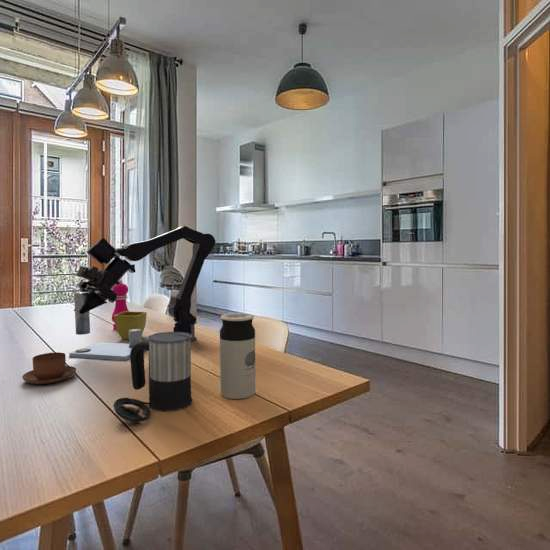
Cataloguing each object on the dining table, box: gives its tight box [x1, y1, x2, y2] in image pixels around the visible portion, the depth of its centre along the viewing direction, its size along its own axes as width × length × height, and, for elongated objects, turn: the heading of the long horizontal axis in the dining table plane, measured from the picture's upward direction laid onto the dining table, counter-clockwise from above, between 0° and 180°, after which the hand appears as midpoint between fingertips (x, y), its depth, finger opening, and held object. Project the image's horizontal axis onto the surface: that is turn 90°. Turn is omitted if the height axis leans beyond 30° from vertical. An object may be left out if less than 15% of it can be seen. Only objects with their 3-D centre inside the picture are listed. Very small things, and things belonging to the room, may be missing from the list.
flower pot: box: [114, 311, 148, 340], centre depth 150 cm, size 9×9×9 cm
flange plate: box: [68, 329, 147, 361], centre depth 129 cm, size 19×14×6 cm
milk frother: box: [113, 331, 194, 423], centre depth 84 cm, size 14×16×15 cm
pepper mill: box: [111, 279, 130, 331], centre depth 166 cm, size 7×7×20 cm
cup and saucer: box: [21, 351, 77, 385], centre depth 104 cm, size 12×12×6 cm
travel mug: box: [219, 312, 257, 400], centre depth 93 cm, size 8×8×18 cm
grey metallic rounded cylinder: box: [73, 291, 91, 335], centre depth 125 cm, size 4×4×12 cm
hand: (77, 312), depth 124 cm, fingers closed on grey metallic rounded cylinder, 4 cm apart
